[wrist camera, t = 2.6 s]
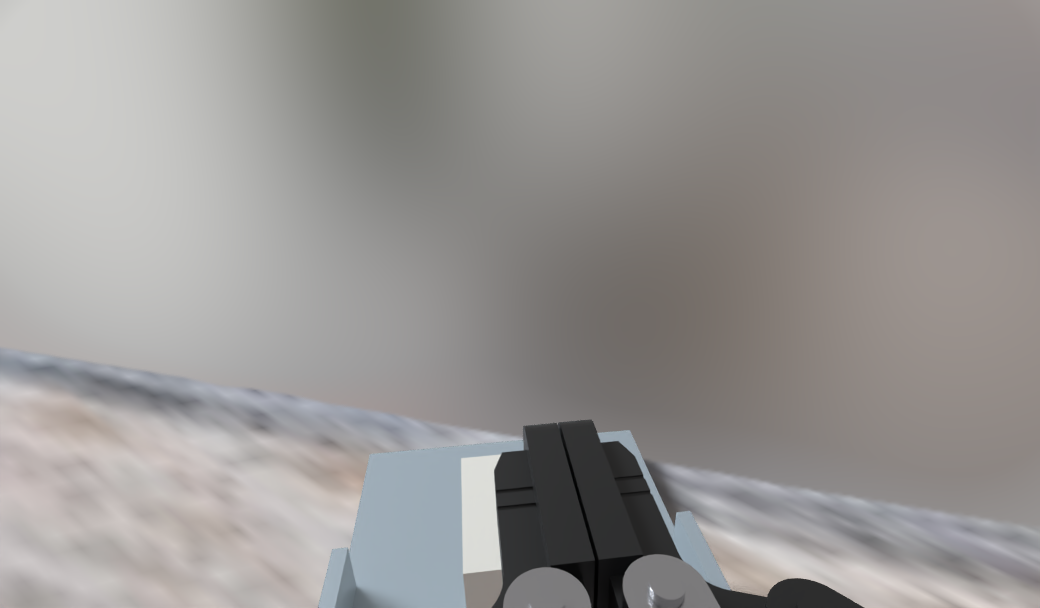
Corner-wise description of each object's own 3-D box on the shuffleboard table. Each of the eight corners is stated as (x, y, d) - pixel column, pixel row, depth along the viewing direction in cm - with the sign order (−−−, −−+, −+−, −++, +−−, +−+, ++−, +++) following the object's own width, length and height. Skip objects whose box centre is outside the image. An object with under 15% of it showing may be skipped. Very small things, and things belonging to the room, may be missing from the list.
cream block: (593, 718, 24) (602, 558, 19) (479, 734, 23) (463, 573, 19) (567, 594, 29) (569, 447, 25) (474, 605, 29) (461, 458, 24)
